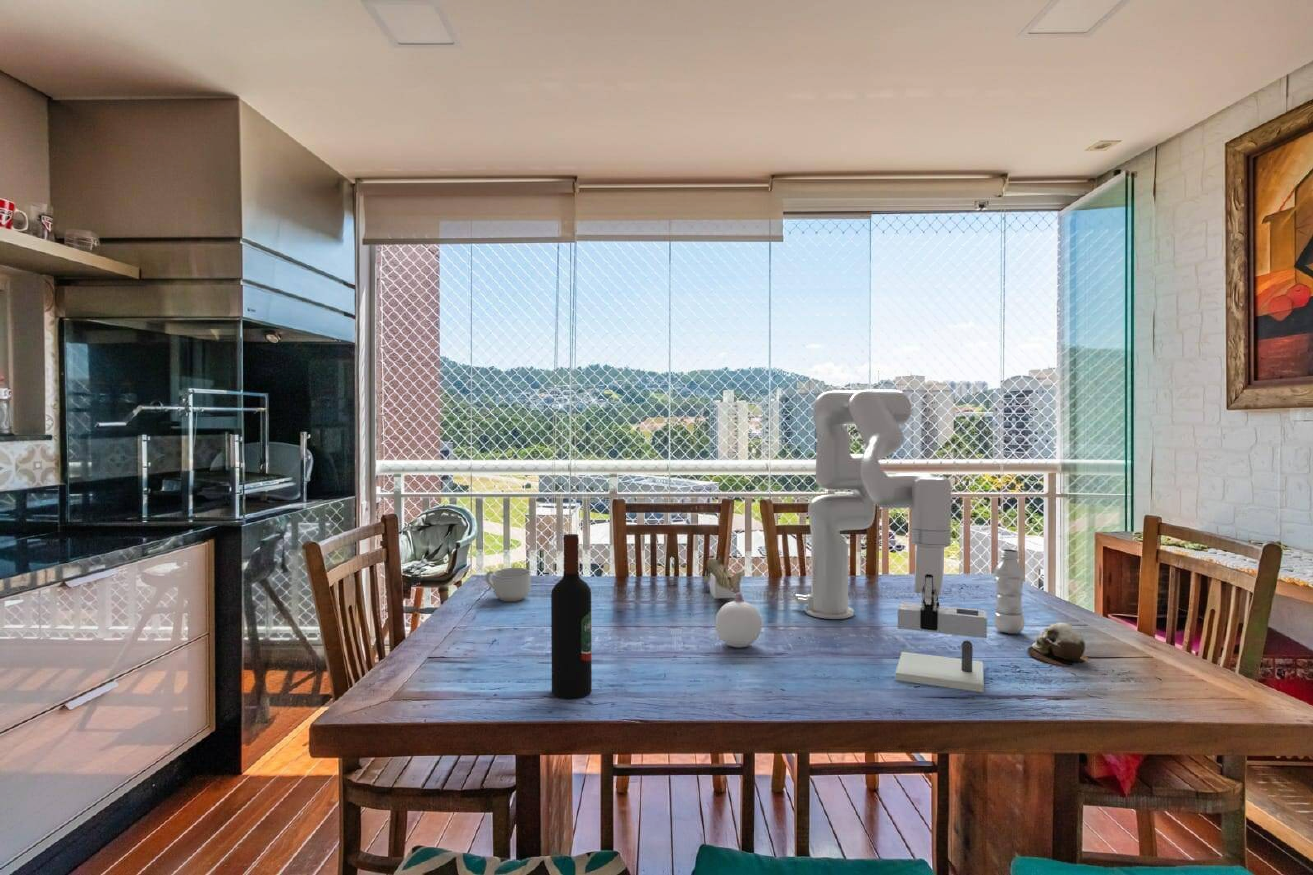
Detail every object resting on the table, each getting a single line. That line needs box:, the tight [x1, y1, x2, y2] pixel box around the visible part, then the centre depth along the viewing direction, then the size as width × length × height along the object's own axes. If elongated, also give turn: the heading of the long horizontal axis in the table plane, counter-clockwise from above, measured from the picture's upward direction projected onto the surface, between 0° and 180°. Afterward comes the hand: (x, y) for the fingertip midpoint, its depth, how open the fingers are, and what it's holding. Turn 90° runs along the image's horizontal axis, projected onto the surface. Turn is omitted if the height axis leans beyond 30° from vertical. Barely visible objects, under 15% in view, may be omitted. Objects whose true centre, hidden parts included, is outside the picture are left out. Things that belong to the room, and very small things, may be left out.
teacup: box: [485, 567, 532, 603], centre depth 209 cm, size 14×11×8 cm
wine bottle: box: [550, 533, 593, 700], centre depth 138 cm, size 8×8×30 cm
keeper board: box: [894, 640, 985, 693], centre depth 147 cm, size 16×14×8 cm
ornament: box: [714, 592, 763, 648], centre depth 165 cm, size 10×10×12 cm
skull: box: [1027, 622, 1092, 668], centre depth 158 cm, size 12×10×10 cm
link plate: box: [897, 601, 988, 639], centre depth 147 cm, size 16×6×4 cm, turn 66°
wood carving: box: [702, 556, 743, 599], centre depth 210 cm, size 9×35×11 cm, turn 8°
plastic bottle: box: [993, 548, 1025, 635], centre depth 175 cm, size 6×7×20 cm
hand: (929, 624), depth 148 cm, fingers closed on link plate, 6 cm apart
